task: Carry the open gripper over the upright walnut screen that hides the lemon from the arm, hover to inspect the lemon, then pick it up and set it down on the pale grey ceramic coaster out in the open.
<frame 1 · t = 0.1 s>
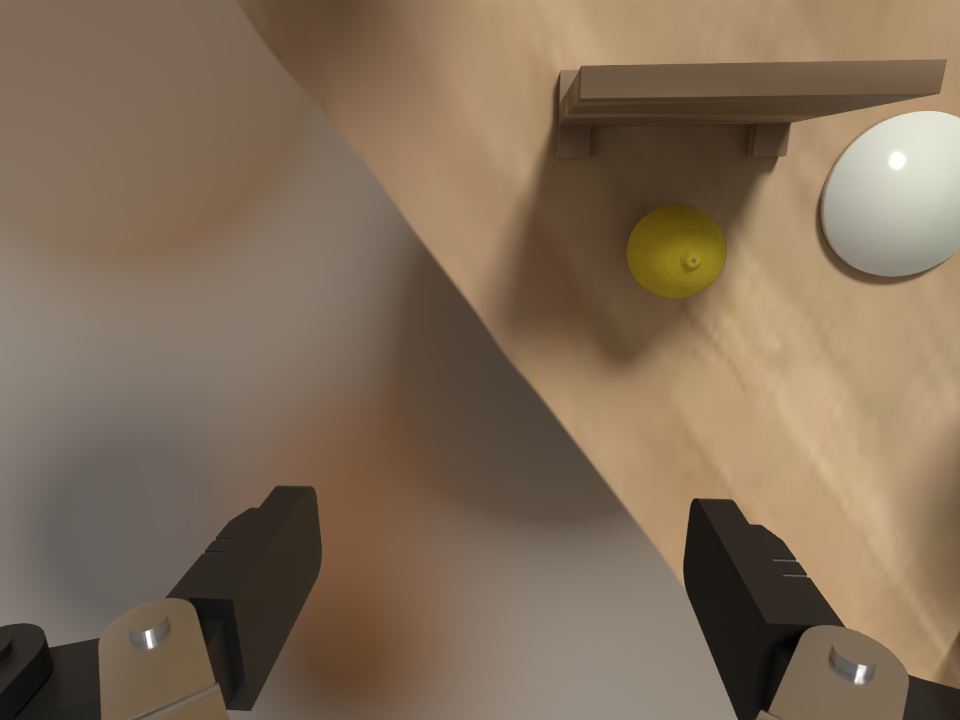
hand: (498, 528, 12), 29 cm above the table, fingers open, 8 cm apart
walnut screen: (670, 115, 36), on the table
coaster: (902, 197, 37), on the table
lemon: (658, 243, 39), on the table
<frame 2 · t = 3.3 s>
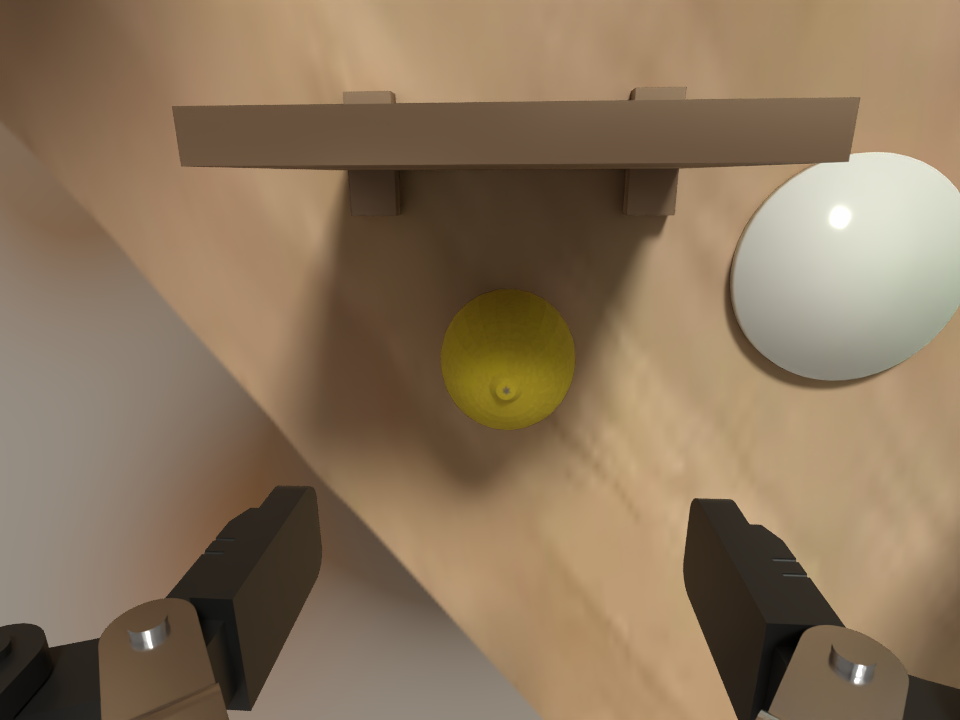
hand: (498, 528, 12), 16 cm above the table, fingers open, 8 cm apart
walnut screen: (511, 155, 25), on the table
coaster: (844, 271, 26), on the table
lemon: (509, 330, 28), on the table
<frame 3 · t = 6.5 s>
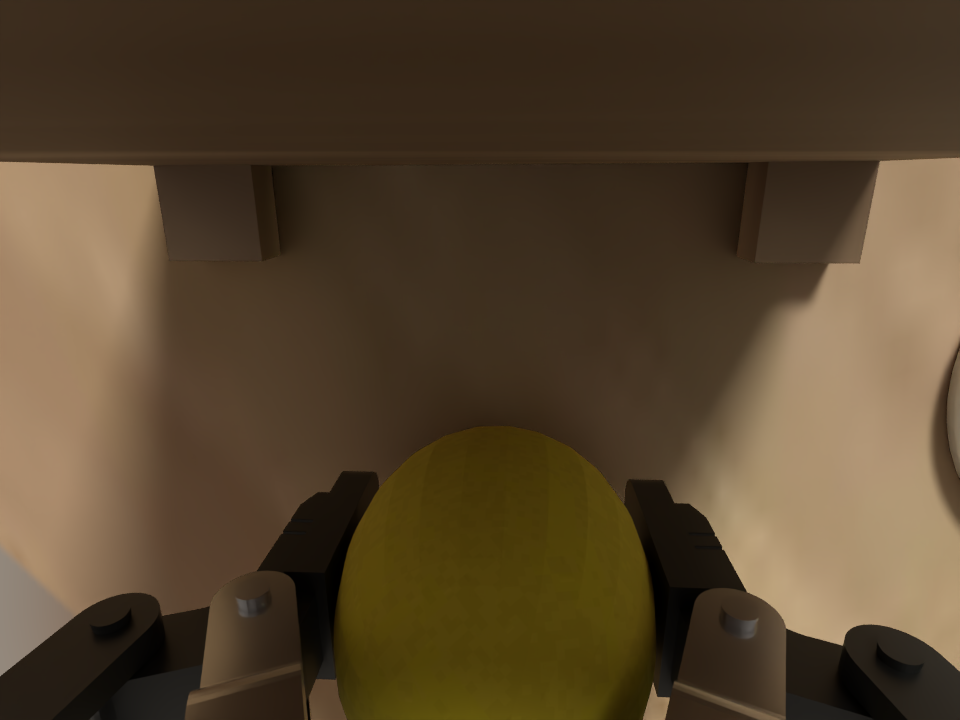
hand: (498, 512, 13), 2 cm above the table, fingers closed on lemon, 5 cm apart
walnut screen: (503, 133, 12), on the table
lemon: (501, 474, 15), on the table, touching gripper
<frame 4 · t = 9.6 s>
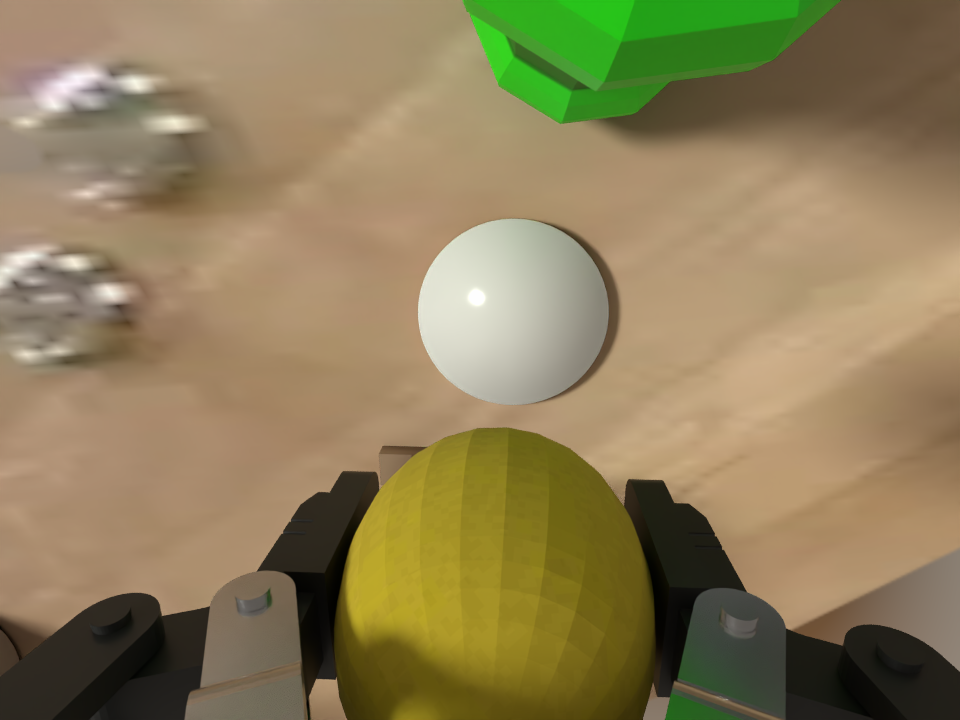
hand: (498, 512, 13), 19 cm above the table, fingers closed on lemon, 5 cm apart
walnut screen: (429, 549, 36), on the table
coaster: (512, 314, 31), on the table
plastic bottle: (581, 17, 27), on the table
lemon: (501, 475, 15), point 17 cm above the table, touching gripper
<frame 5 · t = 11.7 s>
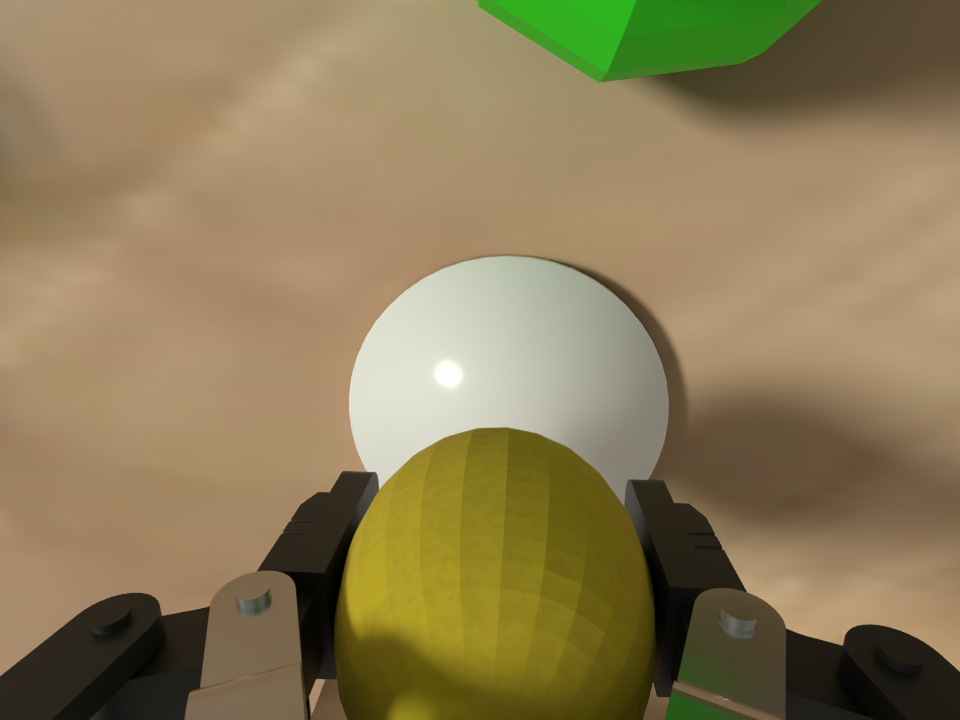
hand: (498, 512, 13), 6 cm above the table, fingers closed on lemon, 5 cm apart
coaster: (506, 410, 19), on the table
lemon: (501, 475, 15), point 4 cm above the table, touching gripper
when the fingers open (3 cm above the table, at t = 12.9 s): lemon drops 1 cm, resting on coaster.
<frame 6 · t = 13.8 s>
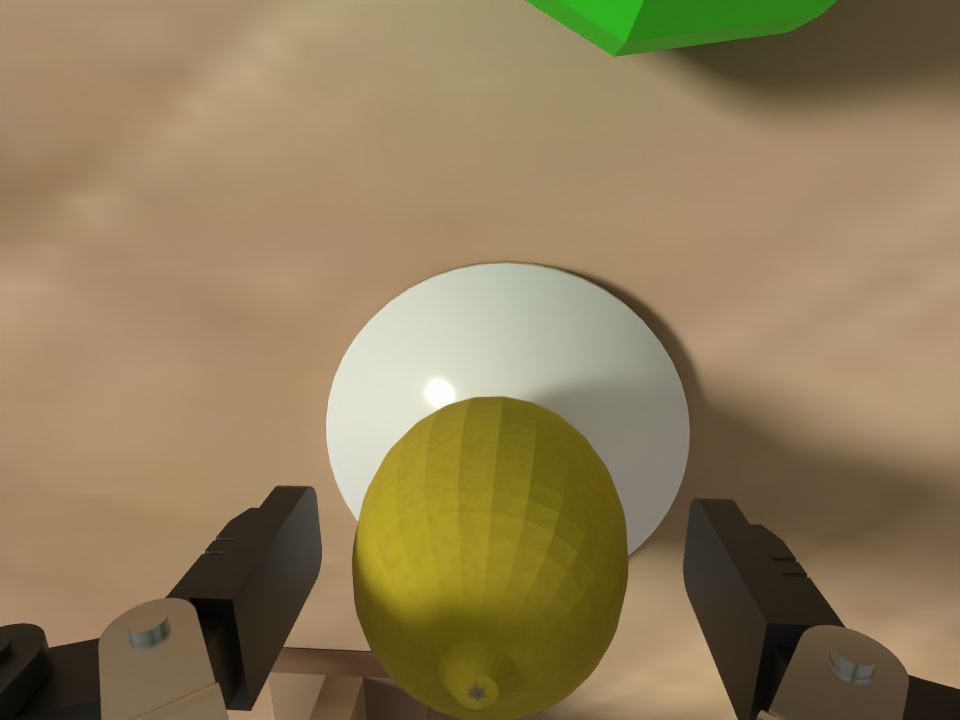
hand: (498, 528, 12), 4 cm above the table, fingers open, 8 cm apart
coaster: (504, 436, 16), on the table
lemon: (500, 446, 16), resting on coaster
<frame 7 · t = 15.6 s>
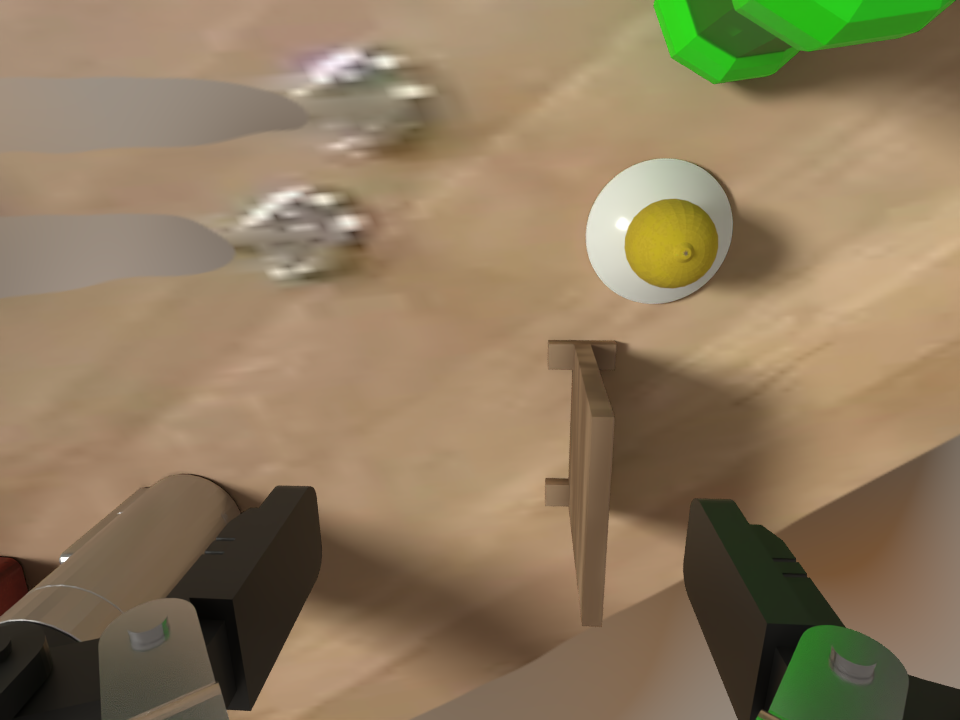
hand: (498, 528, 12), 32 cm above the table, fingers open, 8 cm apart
walnut screen: (578, 424, 46), on the table
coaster: (656, 233, 41), on the table
plastic bottle: (722, 6, 36), on the table
lemon: (656, 235, 41), resting on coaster
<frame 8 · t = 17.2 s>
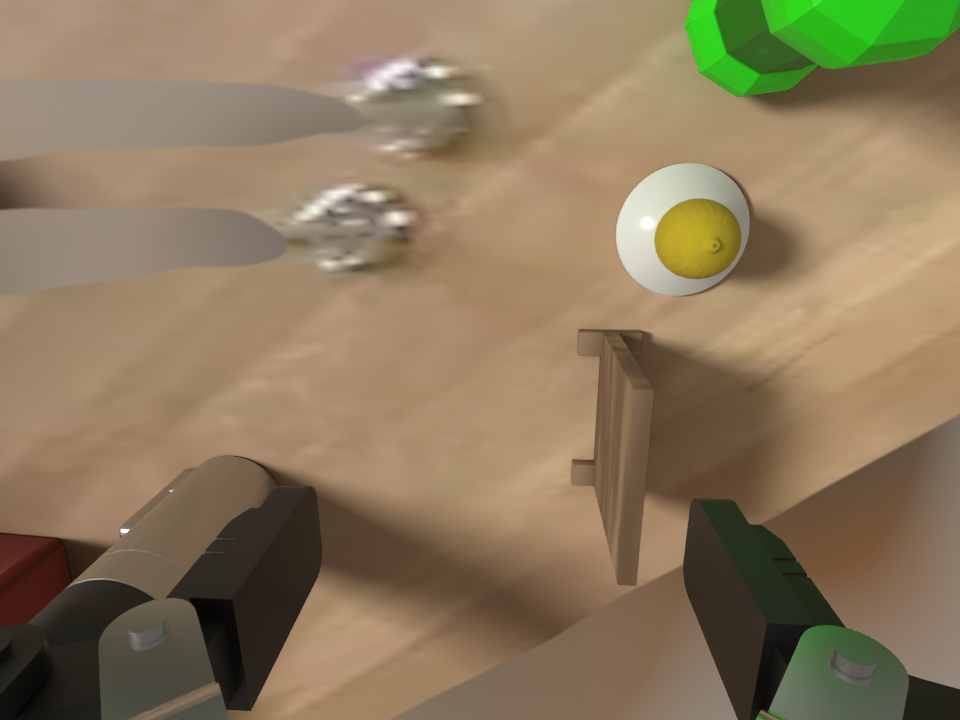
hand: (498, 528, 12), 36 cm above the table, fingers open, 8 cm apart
walnut screen: (603, 408, 50), on the table
plant pot: (18, 583, 60), on the table
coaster: (680, 231, 45), on the table
plastic bottle: (743, 28, 41), on the table
lemon: (680, 233, 45), resting on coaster
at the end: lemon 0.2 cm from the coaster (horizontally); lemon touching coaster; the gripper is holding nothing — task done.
